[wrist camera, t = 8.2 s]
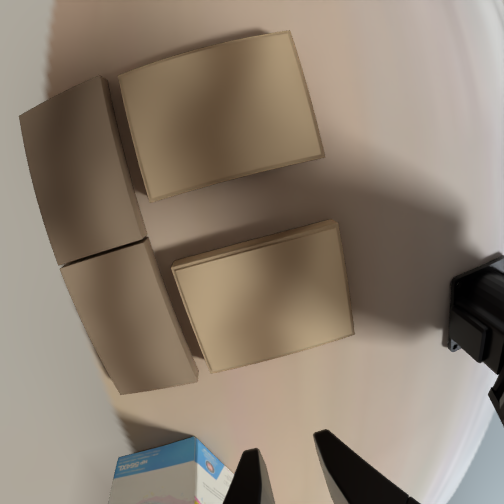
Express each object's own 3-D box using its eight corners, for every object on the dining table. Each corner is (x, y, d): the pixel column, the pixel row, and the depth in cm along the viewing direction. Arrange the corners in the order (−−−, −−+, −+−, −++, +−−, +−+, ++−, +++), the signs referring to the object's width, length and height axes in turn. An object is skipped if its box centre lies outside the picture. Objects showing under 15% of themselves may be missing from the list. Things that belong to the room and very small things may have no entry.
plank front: (286, 38, 15) (290, 29, 13) (319, 157, 17) (325, 157, 15) (124, 80, 15) (116, 75, 13) (155, 200, 17) (149, 203, 15)
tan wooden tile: (107, 80, 15) (99, 75, 13) (198, 370, 20) (197, 382, 19) (29, 117, 15) (19, 115, 13) (124, 384, 20) (120, 394, 19)
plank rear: (331, 219, 18) (338, 223, 16) (348, 325, 20) (355, 335, 18) (174, 260, 18) (170, 268, 16) (211, 362, 20) (210, 374, 18)
